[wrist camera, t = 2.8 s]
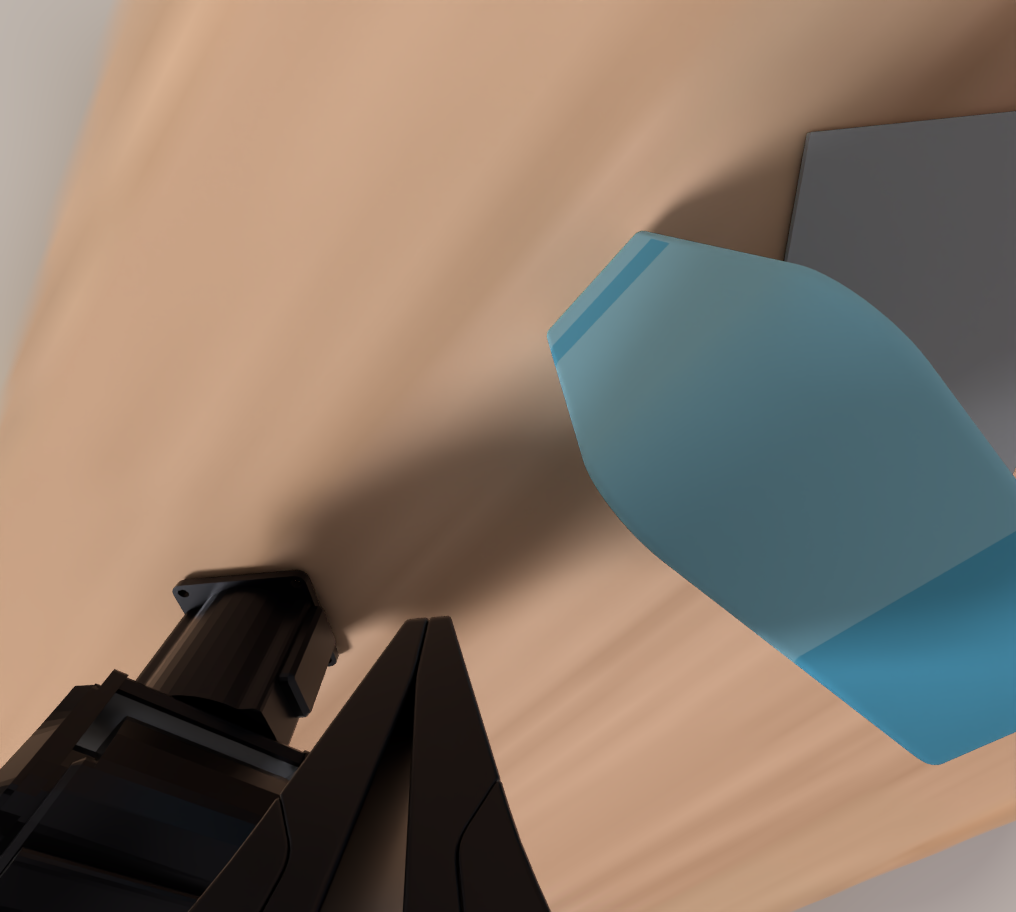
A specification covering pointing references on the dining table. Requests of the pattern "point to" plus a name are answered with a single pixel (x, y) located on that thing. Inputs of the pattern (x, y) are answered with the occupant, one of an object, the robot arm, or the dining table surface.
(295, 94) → the dining table surface
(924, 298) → the felt mat
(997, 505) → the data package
